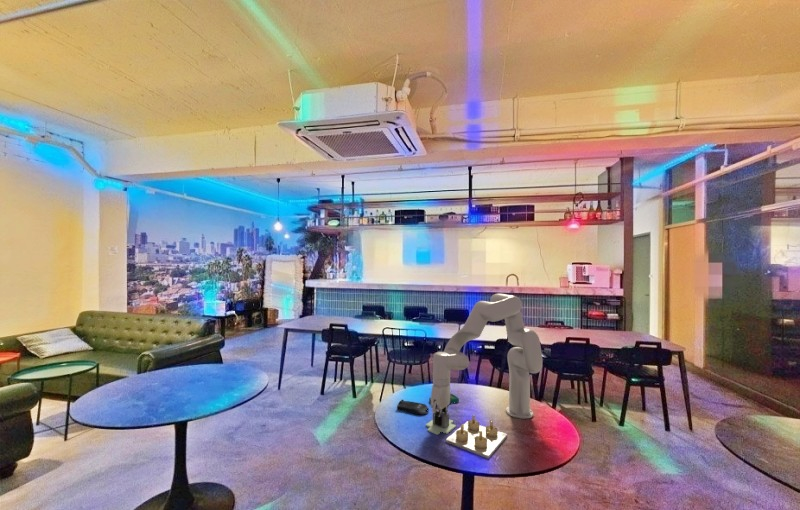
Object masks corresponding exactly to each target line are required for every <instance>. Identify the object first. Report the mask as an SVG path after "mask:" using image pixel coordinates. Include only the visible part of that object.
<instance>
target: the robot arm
mask: <svg viewBox="0 0 800 510" xmlns="http://www.w3.org/2000/svg"><path fill="white" fill-rule="evenodd" d="M522 307H523V303H522V300H521V298H520V297H518V296H516V295H512V294H506V293H495V294H492V295H491V296H490V301H488V300H487V301H485V300H479V301H477V302H476V303H475V304H474V305H473V308H472V309H471V311H470V313H469V315H468V317H467V319H466V321H465V323H464V325H463V326H462V327H461V328H460V329H459V330H458V331H457V332H455V334H453V335H452V336H451V338H450V339H449V340H448V341H447V344H446V345H445V348H444V350H443V351H437V352H434V354H433V361H432V362H433V364H432V365H433V366H432V385H431V386H432V387H431V394H430V398H431V403H430V408H431V409H432V410H431V412H432V414H433V413H434V415H435V424H436V425H439V426H441V425H442V416H441V411H442V412H445V413H448V410H449V409H448V408H449V405H450V393H451V387H450V386H451V371H454V370H455V371H463V370H466V369H467V368H468V367H469V364H470V360H469V357H468V356H467V355H466V354H465V353H463V352H462V351H461V349H462V347H463V346H464V345H465V344H467V343H468V342H469V341H472V340H475V339H478V338H480V336H481V335H482V332H483V331H484V329H485V327H486V325H487V323H488V322H492V323H493V322H499V321H501V320H504V322H505V323H504V324H505V329H506V330H505V331H506V337H507V340H508V342H509V344H511V345H512V346H513V347H511V348H510V349H509V350H508V352H507V354H506V357H507V364H508V372H509V375H508V377H509V381H508V385H509V386H508V387H509V388H508V406H506V408H505V412H506V413H507V415H508V416H511V417H513V418H515V419H523V420H525V419H527V420H528V419H531V418H533V417H534V411H533V410H532V409H531V376H530V374H538V373H539V372H540V371H542V367H543V363H544V362H543V354H542V348H541V347H542V346H541V340H540V337H539V335H538V334H537V332H536V331H535V330H533V329H531V328H527V327H525V323H524V318H523V314H522V312H521V310H522ZM437 410H439V412H438V411H437Z"/></svg>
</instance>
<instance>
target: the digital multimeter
mask: <svg viewBox="0 0 800 510" xmlns="http://www.w3.org/2000/svg"><path fill="white" fill-rule="evenodd" d="M428 399H429V401H428V402H429V403H430V404H431V397H429V398H428ZM454 402H457V403H459V402H460V398H459V397H458V396H456V395H455V394H453V393H451V392H450V403H452V404H455V403H454Z"/></svg>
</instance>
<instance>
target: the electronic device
mask: <svg viewBox="0 0 800 510" xmlns="http://www.w3.org/2000/svg"><path fill="white" fill-rule="evenodd" d="M396 409H397V411H402V412H406V413H411V414H413V415H417V414H418V415H421V416H423V415H427V414H429V412H430V411H429V406H428V405H427V404H425V403H420V402H415V401H409V400H404V399H401V400H400V401H399V402H398V403H397V405H396ZM426 409H427V410H428V412H427V410H426ZM418 415H417V416H418Z"/></svg>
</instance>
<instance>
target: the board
mask: <svg viewBox="0 0 800 510" xmlns="http://www.w3.org/2000/svg"><path fill="white" fill-rule="evenodd" d="M437 411H438V412H439V410H437ZM441 416H442V425H441V426H439V425H436V424H435V415H434V413H433V412H432V419H431V420H430V421H428V422H427V423H425V427H426V426H427V427H426V428H427V432H429V433H432V434H435V435H436V436H438V435H440V434H441V433H442V432H443V434H445V433H446V434H445V435H448V434H450V433H451V432H452V431H453V430H455V429H456V428H457V425H456V424H453V423H454V420H452V419H450V413H448V412H446V413H445V412H442V411H441ZM454 428H455V429H454ZM440 432H441V433H440ZM449 432H450V433H449Z"/></svg>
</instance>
